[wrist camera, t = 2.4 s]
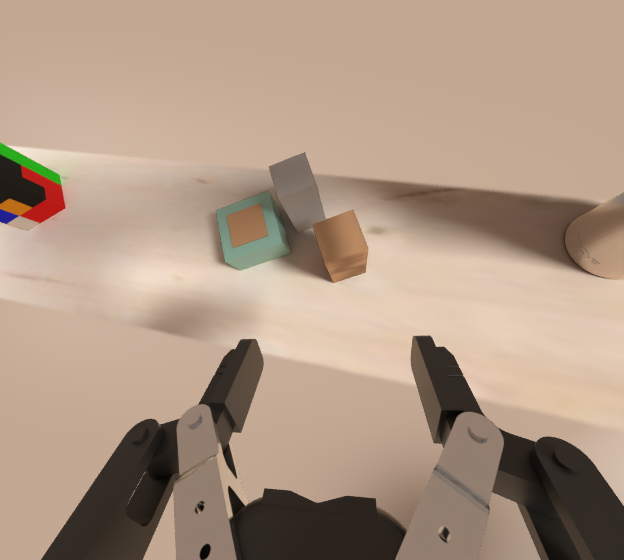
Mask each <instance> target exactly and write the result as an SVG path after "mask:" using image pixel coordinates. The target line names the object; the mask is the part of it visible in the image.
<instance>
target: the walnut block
mask: <svg viewBox="0 0 624 560" xmlns="http://www.w3.org/2000/svg"><path fill="white" fill-rule="evenodd" d="M312 226H313V229H314V232H315V235H316V238H317V242H318V245H319V248H320V251H321V254H322V257H323V260H324V263H325V265H326V267H327V270H328V272H329V274H330V276H331V278H332V281H333V283H335V282H338V281H341V280H344V279H347V278H350V277H353V276H356V275H359V274H362V273H365V272H366V264H367V255H368V246H367V244H366V241H365V238H364V236H363V233H362V231H361V228H360V226H359V223H358V220H357V218H356V215H355V213H354V210H350V211H348V212H345V213H342V214H339V215H337V216H334V217H331V218H329V219H326V220H323V221H320V222H318V223H315V224H312Z"/></svg>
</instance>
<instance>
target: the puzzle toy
mask: <svg viewBox="0 0 624 560" xmlns="http://www.w3.org/2000/svg"><path fill="white" fill-rule="evenodd" d="M63 209H65V203H64V198H63V192H62V187H61V181H60V176H59V174H57V173H55V172H53V171H51V170H50V169H48V168H46V167H44V166H42V165H40V164H38V163H37V162H35V161H33V160H31V159H29V158H27V157H26V156H24V155H22V154H20V153H18V152H16V151H15V150H13V149H11V148H9V147H7V146H5V145H3V144H2V143H0V222H2V223H5V224H8V225H11V226H14V227H17V228H20V229H24V230H27V231H29V230H30V229H32V228H34V227H35V226H37V225H38V224H40V223H42V222H43V221H45V220H47V219H48V218H50V217H51V216H53V215H55V214H56V213H58V212H60V211H61V210H63Z"/></svg>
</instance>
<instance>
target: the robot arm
mask: <svg viewBox="0 0 624 560" xmlns="http://www.w3.org/2000/svg"><path fill="white" fill-rule="evenodd" d="M565 245H566V249H567V251H568V253H569V255H570V256H571V258H572V259H573V260H574V261H575V262H576V263H577V264H578V265H579V266H580V267H582V268H583V269H585V270H586V271H588V272H590V273H592V274H595V275H597V276H600V277H605V278H610V279H624V192H623V193H621V194H620V195H618V196H616V197H614V198H612V199H610V200H608V201H607V202H605V203H603V204H601V205H599V206H598V207H596V208H594V209H592V210H590V211H589V212H587V213H585V214H583V215H581V216H579V217H578V218H576V219H575V220H574V221H573V222H572V223H571V224H570V225H569V227H568V228H567V231H566V234H565ZM263 363H264V362H263V357H262V354H261V351H260V348H259V346H258V343H257V340H256V339H242V340H240V341H239V343H238V345H237V347H236V349H232V350H231V351H230V352H229V353H228V354H227V355H226V356H225V357H224V358H223V360H222V362H221V363H220V365H219V368H218V369H217V371H216V373H215V375H214V376H213V378H212V380H211V382H210V384H209V386H208V388H207V389H206V392H205V393H204V395H203V397H202V399H201V401H200V402H199V404H198V405H196V406H194V407H192V408H190V409H189V410H187V411H186V412H185V413H184V414H183V415H182V417H181V418H180V419H178V420H174V421H171V422H167V423H165V424H161V425H160V424H159V423H158V422H157V421H156V420H154V419H147V420H144V421H142V422H140V423H138V424H137V425H135V426H134V427H133V428H132V429H131V430H130V431H129V432H128V433H127V434H126V435H125V437H124V438H123V440H122V441H121V443H120V444H119V446H118V447H117V449H116V450H115V452H114V453H113V454H112V456H111V457H110V459H109V460H108V462H107V463H106V465H105V466H104V468H103V469H102V471H101V472H100V474H99V475H98V477H97V478H96V479H95V481H94V482H93V484H92V485H91V487H90V489H89V490H88V491H87V493H86V494H85V496H84V497H83V499H82V500H81V502H80V503H79V505H78V506H77V507H76V509H75V511H74V512H73V513H72V515H71V516H70V518H69V519H68V521H67V522H66V524H65V525H64V527H63V528H62V530H61V531H60V533H59V534H58V535H57V537H56V538H55V540H54V542H53V543H52V544H51V546H50V547H49V549H48V550H47V552H46V553H45V555H44V556H43V558H42V559H41V560H143V558H144V555H145V553H146V551H147V548H148V546H149V544H150V542H151V539H152V537H153V535H154V532H155V530H156V528H157V526H158V523H159V521H160V518H161V516H162V514H163V512H164V510H165V507H166V505H167V503H168V500H169V498H170V496H171V493H172V491H173V494H174V517H175V540H176V560H478V558H479V554H480V550H481V546H482V542H483V538H484V534H485V530H486V526H487V522H488V517H489V511H490V508H489V501H490V497H491V493H492V492H493V493H495V494H498V495H500V496H502V497H505V498H507V499H510V500H512V501H514V502H517V504H518V507H519V509H520V511H521V514H522V516H523V518H524V521H525V523H526V526H527V528H528V530H529V532H530V535H531V537H532V539H533V542H534V544H535V547H536V549H537V552H538V554H539V556H540V558H541V560H624V506H623V505H622V503H621V502H620V500H619V499H618V497H617V496H616V495H615V493H614V492H613V490H612V489H611V487H610V486H609V485H608V483H607V482H606V480H605V479H604V478H603V476H602V475H601V473H600V472H599V471H598V470H597V468H596V466H595V465H594V464H593V462H592V461H591V460H590V459H589V458H588V457H587V456H586V455H585V454H584V453H583V452H582V451H581V450H579V449H578V448H576V447H575V446H573V445H572V444H570V443H568V442H566V441H564V440H561V439H559V438H555V437H542V438H540V439H539V440H538V441H537V442H534V441H531V440H528V439H525V438H522V437H519V436H516V435H513V434H510V433H507V432H505V431H503V430H501V429H500V428H498V427H497V426H496V425H495V424H494V423H493V422H492V421H490V420H489V419H487V418H486V417H485V415H484V414H483V413H482V411H481V409H480V407H479V405H478V403H477V401H476V399H475V397H474V395H473V393H472V391H471V389H470V387H469V385H468V383H467V381H466V379H465V377H463V373H462V371H461V369H460V368H459V365H458V364H457V362H456V360H455V358H454V356H453V355H452V354H451V353H450V352H449V351H448V350H447V349H446V348H445V347H436V346H435V344H434V341H433V339H432V337H431V336H413V340H412V349H411V367H412V371H413V375H414V378H415V381H416V385H417V388H418V392H419V395H420V398H421V402H422V405H423V408H424V412H425V415H426V419H427V422H428V425H429V428H430V432H431V436H432V439H433V442H434V443H439V444H442V445H443V448H444V449H443V452H442V454H441V456H440V458H439V461H438V463H437V465H436V467H435V468H434V470H433V472H432V474H431V476H430V479H429V481H428V483H427V486H426V488H425V491H424V493H423V495H422V498H421V500H420V502H419V505H418V507H417V510H416V512H415V514H414V517H413V519H412V521H411V523H410V526H409V528H408V530H407V529H406V528H405V527H404V526H403V525H402V524H401V523H400V522H399V521H398V520H397V519H396V518H394V517H393V516H392V515H391V514H389V513H388V512H386V511H384V510H382V509H380V508H378V507H376V499H375V498H365V497H354V496H344V497H340V498H336V499H332V500H328V501H325V502H321V503H316V502H313V501H311V500H309V499H307V498H304V497H302V496H300V495H298V494H296V493H294V492H292V491H288V490H277V489H266V488H265V489H264V493H263V497H262V498H259V499H257V500H254V501H252V502H251V503H249V502H248V498H247V496H246V493H245V491H244V488H243V486H242V483H241V480H240V476H239V473H238V469H237V465H236V461H235V457H234V453H233V449H232V445H231V442H230V438H231V435H232V432H238V433H241V431H242V428H243V425H244V422H245V419H246V416H247V414H248V411H249V408H250V405H251V402H252V399H253V396H254V393H255V390H256V388H257V384H258V382H259V379H260V376H261V373H262V370H263ZM144 472H145V474H144ZM143 474H144V475H143ZM142 476H143V477H142ZM178 477H179V478H178ZM141 478H142V479H141ZM140 479H141V481H140ZM139 481H140V483H139ZM138 483H139V485H138ZM137 485H138V486H137ZM136 487H137V488H136ZM135 489H136V490H135ZM134 491H135V492H134ZM133 492H134V494H133ZM132 494H133V496H132ZM131 496H132V497H131ZM130 498H131V499H130ZM129 500H130V501H129ZM128 502H129V503H128ZM127 504H128V505H127Z"/></svg>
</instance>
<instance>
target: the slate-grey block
mask: <svg viewBox="0 0 624 560" xmlns="http://www.w3.org/2000/svg"><path fill="white" fill-rule="evenodd" d="M269 169H270V173H271V176H272V180H273V183H274V187H275V190H276V194H277V197H278V199H279V201H280V203H281V205H282V206H283V208H284V210H285V211H286V213H287V215H288V217H289V218H290V220H291V222H292V223H293V225H294V227H295V229H296V230H297V232H301V231H304V230H306V229H309V228H312V227H313V226H312V224H315V223H318V222H320V221H323V220H326V218H325V214H324V211H323V207H322V204H321V200H320V196H319V193H318V189H317V186H316V182H315V180H314V177H313V174H312V171H311V168H310V165H309V163H308V160H307V157H306V154H305V152H304V153H302V154H299V155H297V156H294V157H292V158H289V159H287V160H284V161H282V162H279V163H277V164H274V165H272V166H269Z"/></svg>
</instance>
